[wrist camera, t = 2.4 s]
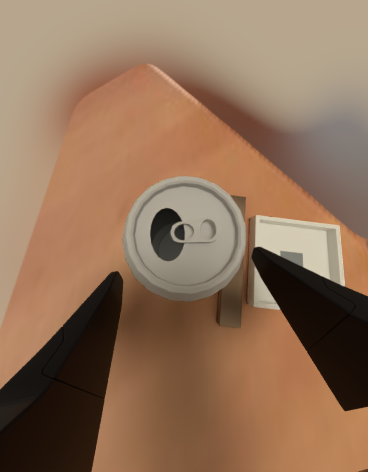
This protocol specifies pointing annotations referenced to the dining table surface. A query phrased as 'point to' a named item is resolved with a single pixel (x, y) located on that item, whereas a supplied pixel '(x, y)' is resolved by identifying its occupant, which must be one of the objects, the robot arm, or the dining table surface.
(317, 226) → the tray
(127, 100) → the dining table surface
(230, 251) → the can
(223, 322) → the strip
